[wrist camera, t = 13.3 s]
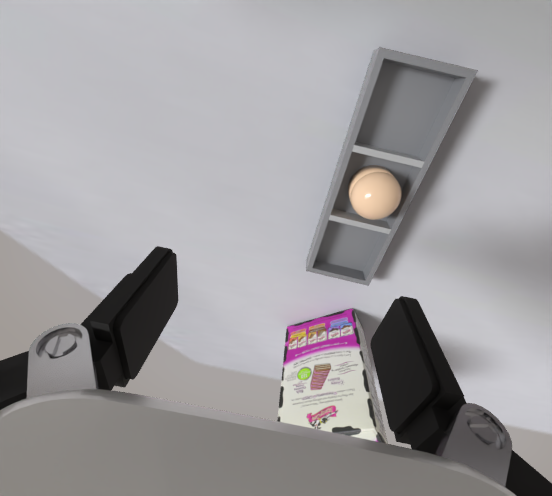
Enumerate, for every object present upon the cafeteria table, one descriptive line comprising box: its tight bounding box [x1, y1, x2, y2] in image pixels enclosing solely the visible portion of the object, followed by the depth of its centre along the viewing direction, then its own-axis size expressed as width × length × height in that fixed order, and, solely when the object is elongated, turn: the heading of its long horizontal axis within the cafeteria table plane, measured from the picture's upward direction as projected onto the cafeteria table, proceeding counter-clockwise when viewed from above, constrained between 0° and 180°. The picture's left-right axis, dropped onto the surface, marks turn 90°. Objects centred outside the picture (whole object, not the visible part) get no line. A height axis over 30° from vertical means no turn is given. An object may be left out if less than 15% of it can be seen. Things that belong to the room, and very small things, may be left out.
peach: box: [348, 165, 401, 220], centre depth 27 cm, size 5×5×5 cm
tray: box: [306, 47, 478, 286], centre depth 28 cm, size 23×8×3 cm, turn 168°
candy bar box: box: [278, 309, 388, 444], centre depth 35 cm, size 11×5×16 cm, turn 118°
